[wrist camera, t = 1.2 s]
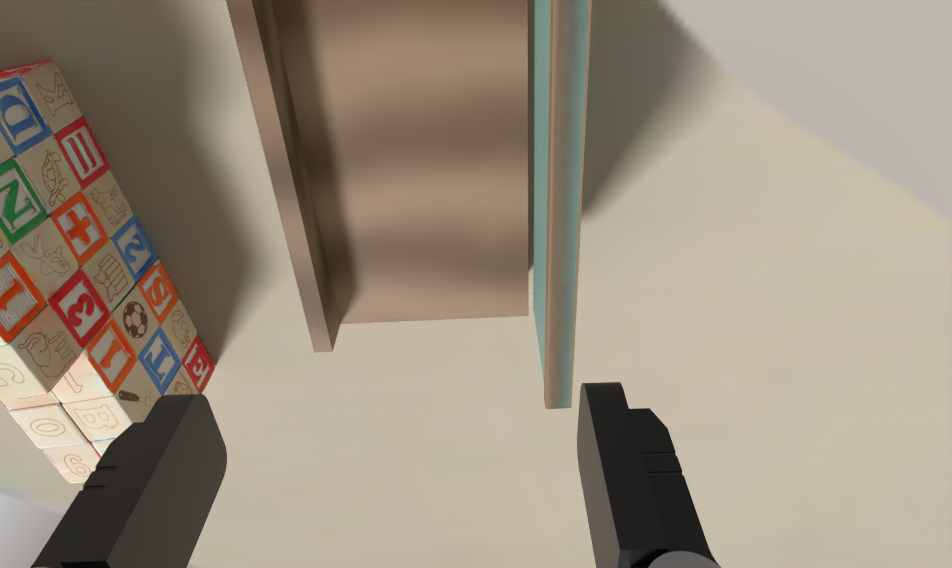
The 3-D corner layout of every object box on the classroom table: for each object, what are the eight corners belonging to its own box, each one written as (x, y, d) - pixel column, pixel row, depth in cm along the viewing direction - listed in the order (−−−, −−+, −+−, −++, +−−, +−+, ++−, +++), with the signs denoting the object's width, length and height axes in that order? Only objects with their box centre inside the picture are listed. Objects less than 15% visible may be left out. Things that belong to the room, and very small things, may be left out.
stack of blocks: (220, 366, 44) (143, 519, 33) (136, 378, 44) (36, 532, 34) (53, 55, 32) (-144, 144, 22) (-58, 77, 32) (-300, 174, 22)
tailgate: (532, -128, 24) (556, -126, 18) (563, -130, 24) (598, -128, 18) (531, 308, 36) (545, 408, 29) (552, 307, 36) (571, 407, 29)
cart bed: (249, -126, 28) (194, -124, 22) (520, -142, 27) (532, -144, 22) (335, 286, 40) (314, 352, 34) (523, 278, 39) (532, 342, 34)
